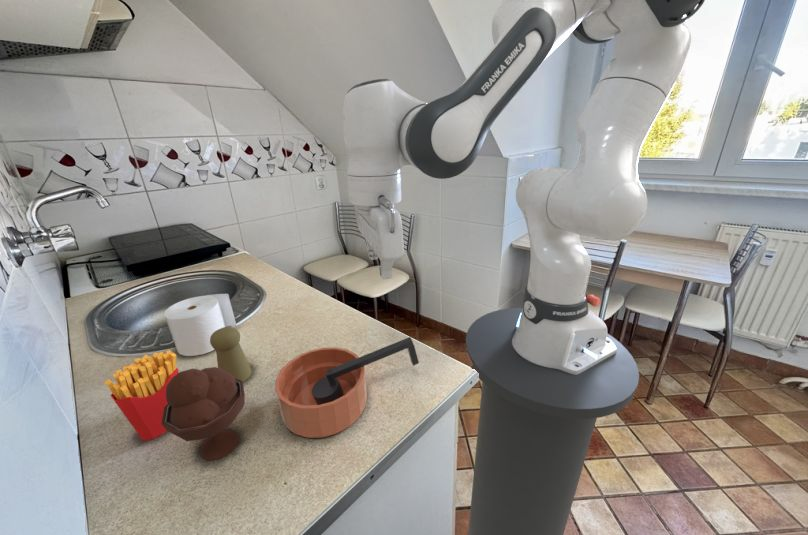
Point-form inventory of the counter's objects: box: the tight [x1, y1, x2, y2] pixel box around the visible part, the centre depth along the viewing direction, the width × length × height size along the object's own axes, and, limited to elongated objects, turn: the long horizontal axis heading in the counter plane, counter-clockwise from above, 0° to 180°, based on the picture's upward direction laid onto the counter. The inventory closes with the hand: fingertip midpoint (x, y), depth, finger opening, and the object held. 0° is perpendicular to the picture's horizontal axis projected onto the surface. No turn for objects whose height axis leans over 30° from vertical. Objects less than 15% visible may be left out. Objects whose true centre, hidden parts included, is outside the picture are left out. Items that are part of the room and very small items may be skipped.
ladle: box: [312, 336, 420, 405], centre depth 59 cm, size 20×5×6 cm, turn 108°
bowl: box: [274, 346, 368, 439], centre depth 58 cm, size 15×15×7 cm
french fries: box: [104, 349, 180, 442], centre depth 54 cm, size 9×4×13 cm, turn 144°
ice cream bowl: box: [161, 366, 246, 462], centre depth 49 cm, size 11×11×15 cm
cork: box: [210, 326, 253, 383], centre depth 65 cm, size 6×6×11 cm
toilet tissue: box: [163, 293, 237, 357], centre depth 76 cm, size 11×12×10 cm
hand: (379, 267), depth 59 cm, fingers open, 8 cm apart
